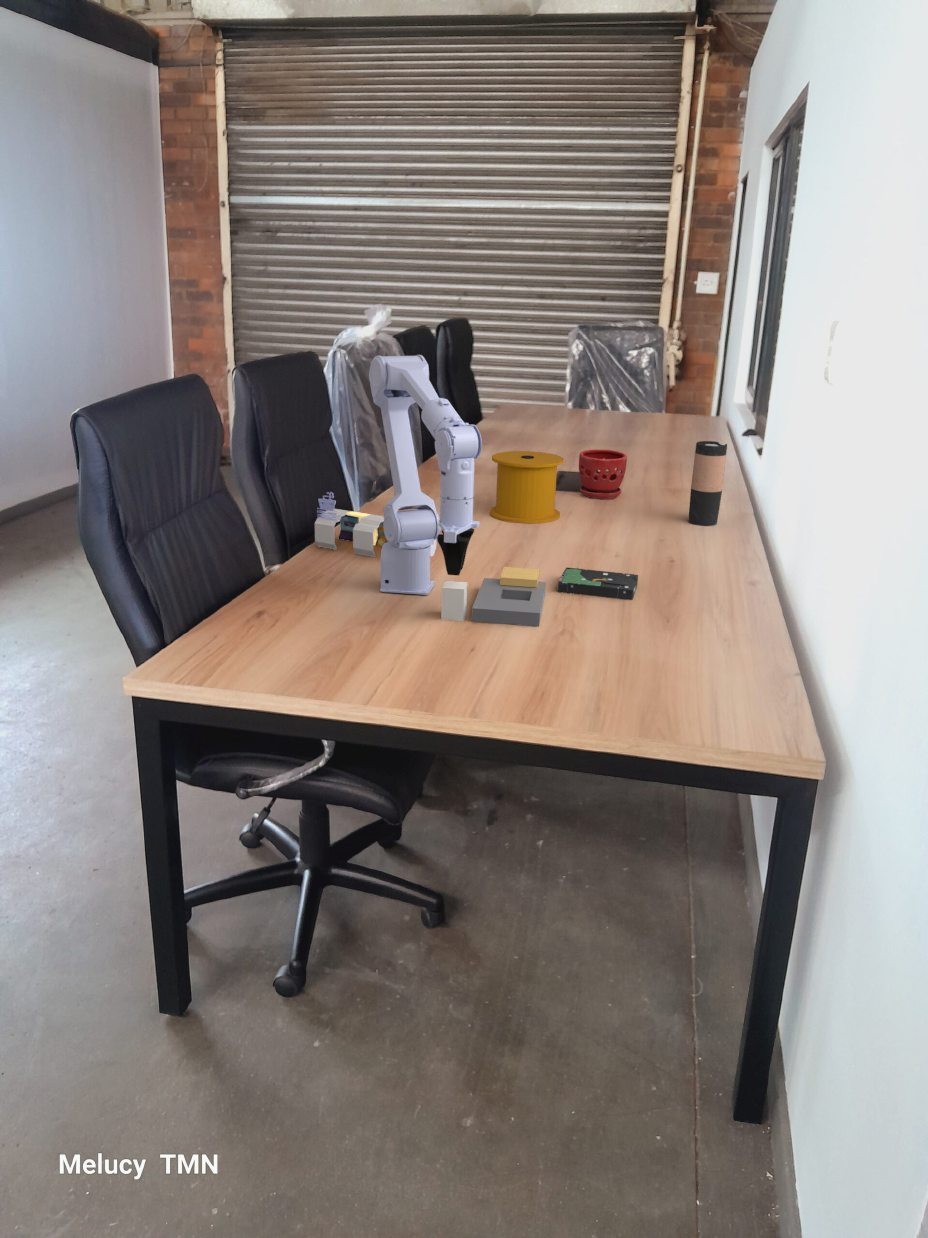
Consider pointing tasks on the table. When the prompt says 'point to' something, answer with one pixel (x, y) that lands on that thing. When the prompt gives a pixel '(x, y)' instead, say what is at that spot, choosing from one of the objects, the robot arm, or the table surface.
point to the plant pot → (601, 473)
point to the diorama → (351, 528)
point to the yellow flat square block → (519, 577)
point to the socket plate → (508, 603)
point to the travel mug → (707, 483)
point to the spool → (526, 487)
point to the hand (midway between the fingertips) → (455, 571)
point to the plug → (454, 601)
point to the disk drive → (598, 583)
